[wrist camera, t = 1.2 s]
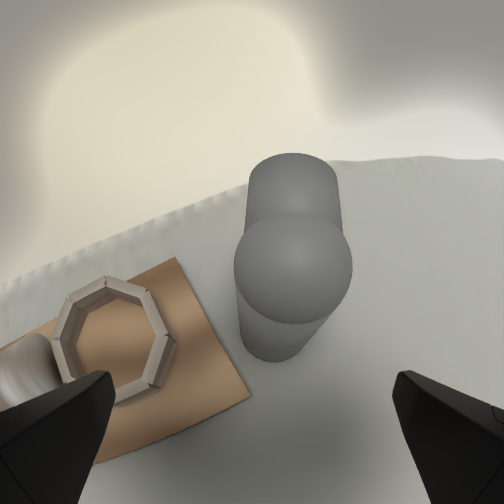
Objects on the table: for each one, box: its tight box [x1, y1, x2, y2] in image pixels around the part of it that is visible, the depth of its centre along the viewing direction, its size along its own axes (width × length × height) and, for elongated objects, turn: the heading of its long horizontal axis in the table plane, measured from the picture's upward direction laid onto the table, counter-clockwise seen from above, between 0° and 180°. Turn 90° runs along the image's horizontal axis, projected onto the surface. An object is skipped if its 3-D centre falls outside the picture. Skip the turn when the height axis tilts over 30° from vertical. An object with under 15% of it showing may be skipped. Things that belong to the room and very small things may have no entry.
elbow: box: [234, 153, 352, 362], centre depth 18 cm, size 7×5×14 cm
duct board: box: [0, 257, 251, 465], centre depth 18 cm, size 12×20×6 cm, turn 120°
